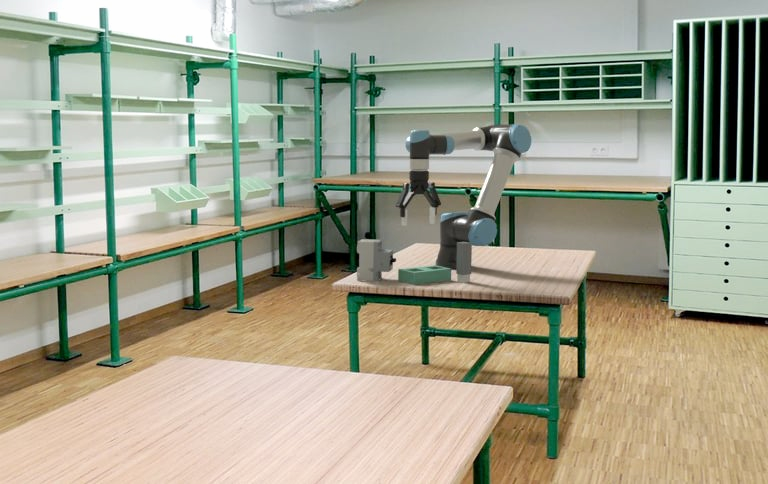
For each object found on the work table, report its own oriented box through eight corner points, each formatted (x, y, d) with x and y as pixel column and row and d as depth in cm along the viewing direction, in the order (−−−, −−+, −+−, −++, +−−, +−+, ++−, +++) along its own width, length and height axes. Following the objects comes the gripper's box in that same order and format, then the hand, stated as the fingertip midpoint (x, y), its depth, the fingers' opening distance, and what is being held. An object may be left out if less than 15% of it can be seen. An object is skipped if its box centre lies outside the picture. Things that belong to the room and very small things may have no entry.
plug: (464, 280, 331) (464, 241, 329) (471, 281, 328) (471, 242, 326) (456, 281, 329) (456, 242, 327) (463, 282, 326) (463, 243, 324)
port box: (434, 276, 340) (434, 265, 339) (451, 280, 331) (451, 268, 331) (397, 280, 329) (397, 269, 329) (414, 284, 321) (414, 272, 320)
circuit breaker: (393, 281, 327) (393, 242, 325) (356, 280, 329) (357, 241, 328) (397, 278, 334) (397, 240, 332) (361, 277, 337) (361, 239, 335)
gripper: (438, 169, 342) (437, 222, 345) (387, 170, 328) (386, 225, 331) (450, 170, 336) (449, 223, 339) (398, 171, 322) (398, 227, 325)
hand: (418, 224), depth 335 cm, fingers open, 13 cm apart
